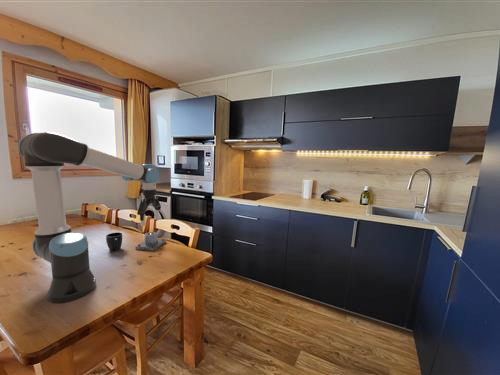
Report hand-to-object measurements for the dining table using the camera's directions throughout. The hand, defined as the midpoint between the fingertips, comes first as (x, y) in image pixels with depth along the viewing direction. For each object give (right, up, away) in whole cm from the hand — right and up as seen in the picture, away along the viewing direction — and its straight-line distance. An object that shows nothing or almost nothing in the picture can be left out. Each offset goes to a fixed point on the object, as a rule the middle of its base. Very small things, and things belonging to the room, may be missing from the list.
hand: (150, 222), depth 131 cm
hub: (0, -13, +2) cm, 14 cm away
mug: (-18, -16, -6) cm, 25 cm away
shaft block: (0, -15, +2) cm, 16 cm away
